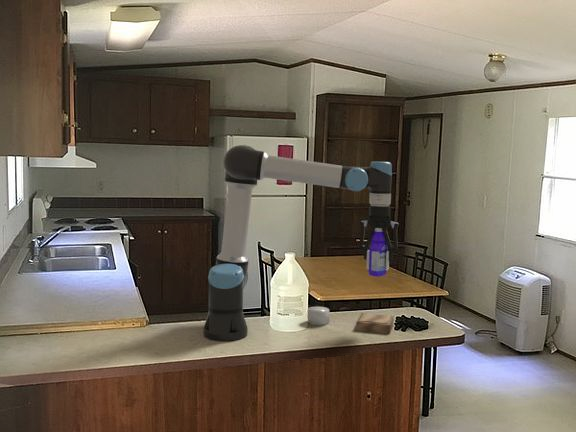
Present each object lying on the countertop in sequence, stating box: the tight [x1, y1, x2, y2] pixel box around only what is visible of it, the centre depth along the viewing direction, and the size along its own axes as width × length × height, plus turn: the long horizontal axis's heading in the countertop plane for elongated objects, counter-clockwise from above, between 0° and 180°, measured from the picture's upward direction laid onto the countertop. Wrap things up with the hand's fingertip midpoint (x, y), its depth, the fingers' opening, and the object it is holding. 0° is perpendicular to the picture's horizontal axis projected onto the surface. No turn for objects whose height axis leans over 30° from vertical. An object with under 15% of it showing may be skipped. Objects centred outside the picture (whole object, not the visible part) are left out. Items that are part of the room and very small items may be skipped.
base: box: [355, 312, 395, 334], centre depth 219 cm, size 12×12×3 cm
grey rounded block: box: [307, 306, 330, 326], centre depth 223 cm, size 8×8×5 cm
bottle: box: [368, 228, 388, 278], centre depth 216 cm, size 7×6×17 cm
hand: (377, 268), depth 216 cm, fingers closed on bottle, 6 cm apart
